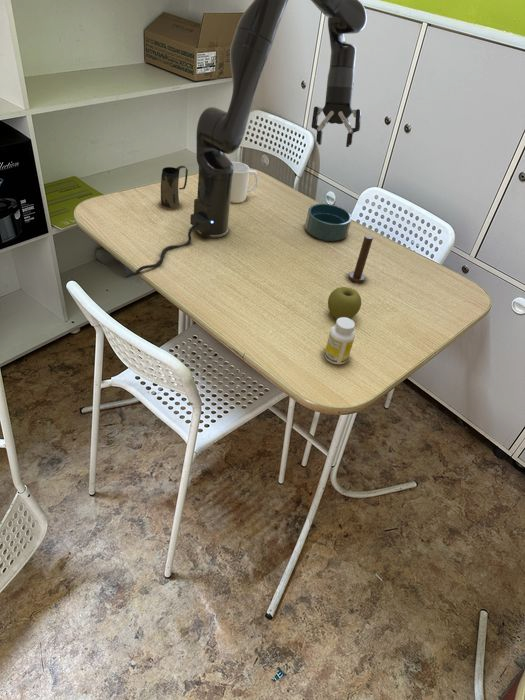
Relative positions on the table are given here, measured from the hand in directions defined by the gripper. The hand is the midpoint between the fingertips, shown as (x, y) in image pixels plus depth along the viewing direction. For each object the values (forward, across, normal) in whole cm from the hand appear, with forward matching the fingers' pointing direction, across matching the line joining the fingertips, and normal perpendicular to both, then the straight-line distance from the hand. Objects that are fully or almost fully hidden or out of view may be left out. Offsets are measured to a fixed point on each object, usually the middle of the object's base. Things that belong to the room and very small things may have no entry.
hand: (333, 145), depth 157 cm
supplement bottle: (+40, +15, -62) cm, 75 cm away
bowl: (+24, +2, -8) cm, 26 cm away
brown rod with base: (+32, +14, -29) cm, 45 cm away
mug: (+20, -45, -18) cm, 52 cm away
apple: (+36, +13, -47) cm, 61 cm away
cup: (+18, -29, -1) cm, 34 cm away
